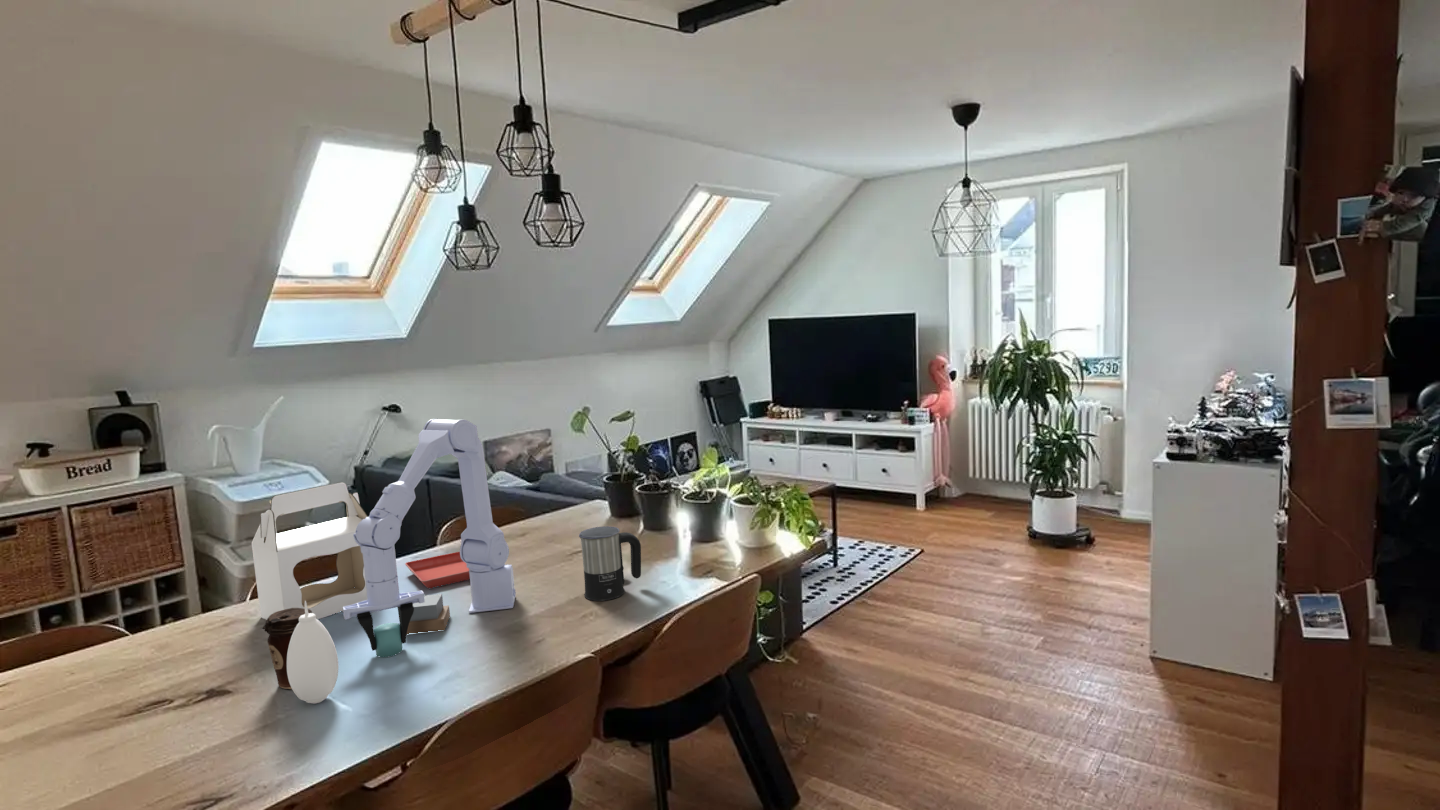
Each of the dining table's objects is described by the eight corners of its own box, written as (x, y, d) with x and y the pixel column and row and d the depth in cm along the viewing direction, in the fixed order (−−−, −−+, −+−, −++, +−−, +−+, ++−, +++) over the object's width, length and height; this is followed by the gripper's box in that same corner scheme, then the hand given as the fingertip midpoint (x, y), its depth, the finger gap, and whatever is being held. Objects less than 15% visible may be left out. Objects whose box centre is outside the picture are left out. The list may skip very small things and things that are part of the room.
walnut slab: (450, 618, 173) (449, 605, 172) (444, 632, 165) (443, 619, 165) (411, 623, 171) (410, 609, 171) (404, 637, 164) (402, 623, 163)
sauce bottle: (289, 716, 132) (276, 612, 129) (293, 696, 139) (281, 597, 136) (341, 705, 135) (329, 603, 132) (342, 686, 142) (331, 589, 140)
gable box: (356, 588, 195) (343, 476, 192) (384, 598, 187) (371, 481, 183) (259, 618, 178) (243, 496, 174) (285, 630, 170) (269, 502, 166)
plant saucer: (497, 576, 199) (496, 563, 199) (423, 594, 189) (421, 580, 189) (475, 560, 214) (474, 548, 214) (405, 575, 204) (404, 562, 204)
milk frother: (597, 605, 175) (593, 539, 173) (561, 588, 187) (556, 527, 185) (649, 588, 184) (645, 525, 183) (612, 573, 196) (608, 514, 194)
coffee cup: (268, 697, 139) (259, 626, 137) (270, 679, 146) (262, 611, 144) (324, 684, 143) (316, 615, 141) (323, 667, 150) (315, 601, 148)
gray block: (443, 607, 171) (442, 593, 171) (437, 618, 165) (436, 604, 165) (412, 610, 171) (410, 597, 170) (404, 622, 164) (403, 608, 164)
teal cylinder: (404, 645, 158) (402, 621, 158) (399, 655, 154) (397, 630, 153) (379, 648, 158) (376, 624, 157) (373, 658, 153) (370, 633, 152)
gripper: (417, 565, 161) (423, 629, 162) (338, 580, 154) (346, 647, 155) (423, 574, 155) (430, 640, 156) (342, 590, 148) (349, 660, 149)
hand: (388, 645), depth 155 cm, fingers closed on teal cylinder, 5 cm apart
